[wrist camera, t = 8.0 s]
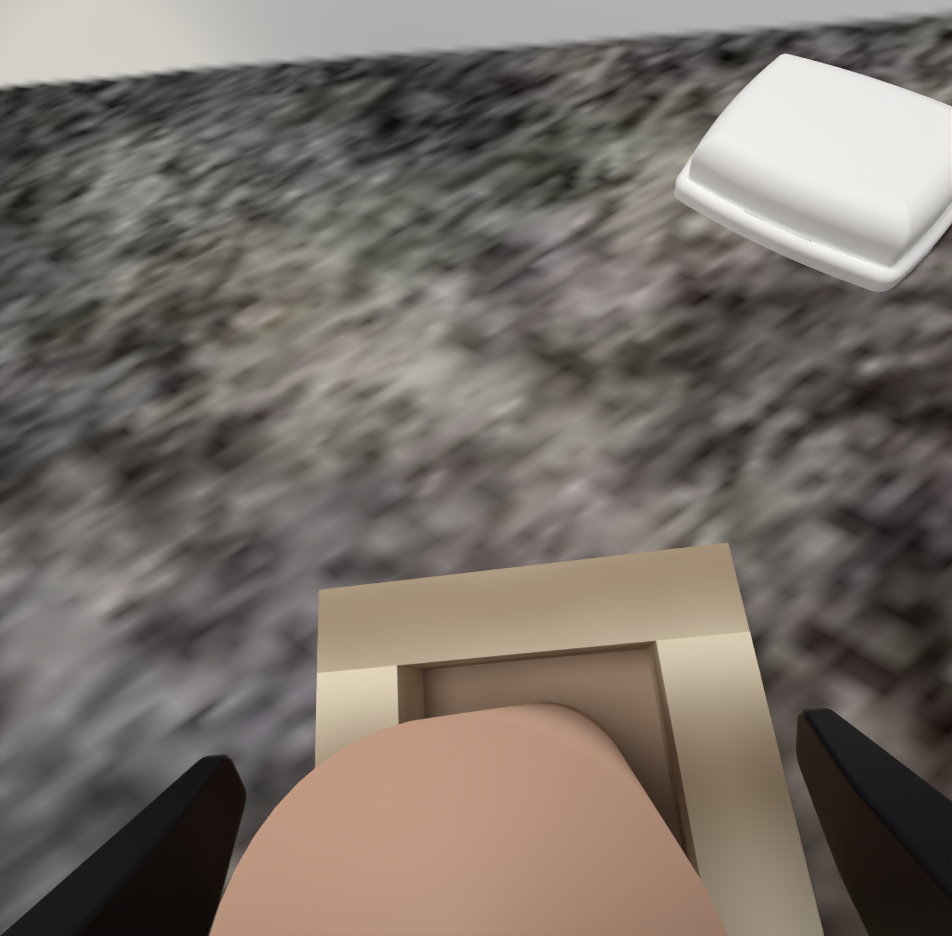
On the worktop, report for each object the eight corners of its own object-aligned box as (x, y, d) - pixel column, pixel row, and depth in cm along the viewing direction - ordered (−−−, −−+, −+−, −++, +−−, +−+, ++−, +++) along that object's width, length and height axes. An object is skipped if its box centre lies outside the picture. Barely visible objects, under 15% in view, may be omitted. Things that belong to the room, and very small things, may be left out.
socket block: (813, 1036, 14) (869, 1122, 11) (358, 1039, 15) (307, 1115, 12) (706, 566, 18) (728, 542, 15) (357, 605, 19) (319, 590, 17)
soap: (658, 204, 23) (667, 141, 21) (757, 93, 24) (777, 20, 22) (884, 311, 20) (928, 252, 17) (986, 178, 21) (1043, 103, 19)
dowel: (562, 928, 15) (489, 1713, 3) (436, 795, 16) (91, 1029, 5) (664, 781, 16) (887, 1018, 4) (534, 668, 17) (433, 614, 6)
